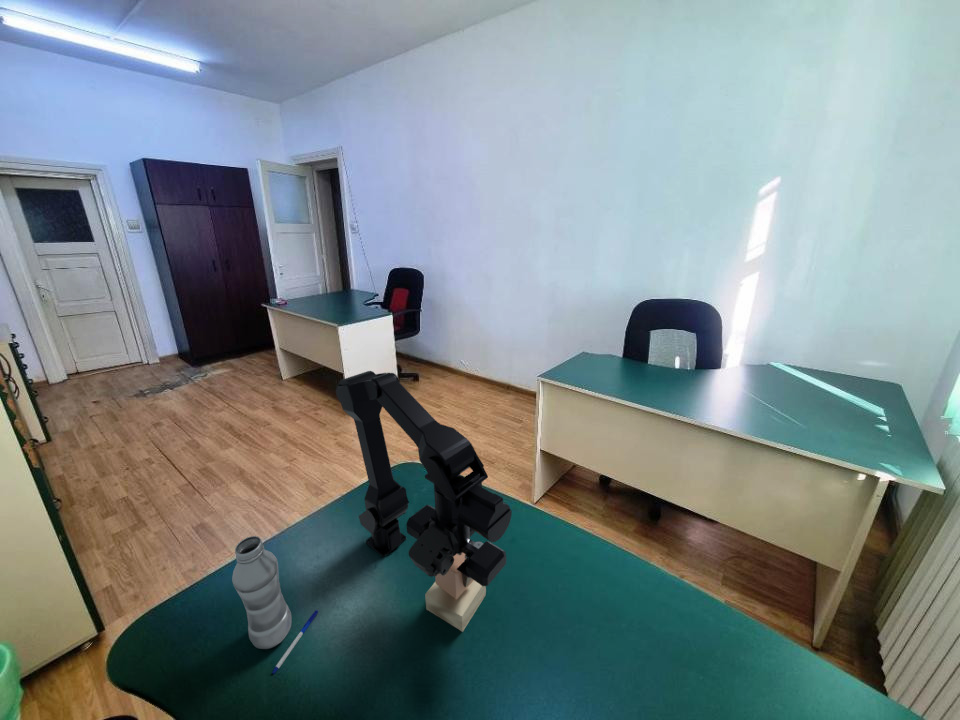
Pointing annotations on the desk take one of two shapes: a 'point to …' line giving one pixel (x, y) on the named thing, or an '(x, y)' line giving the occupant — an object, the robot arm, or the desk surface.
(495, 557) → the robot arm
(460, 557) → the terracotta block
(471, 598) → the beech block
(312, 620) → the ballpoint pen
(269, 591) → the plastic bottle
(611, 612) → the desk surface
